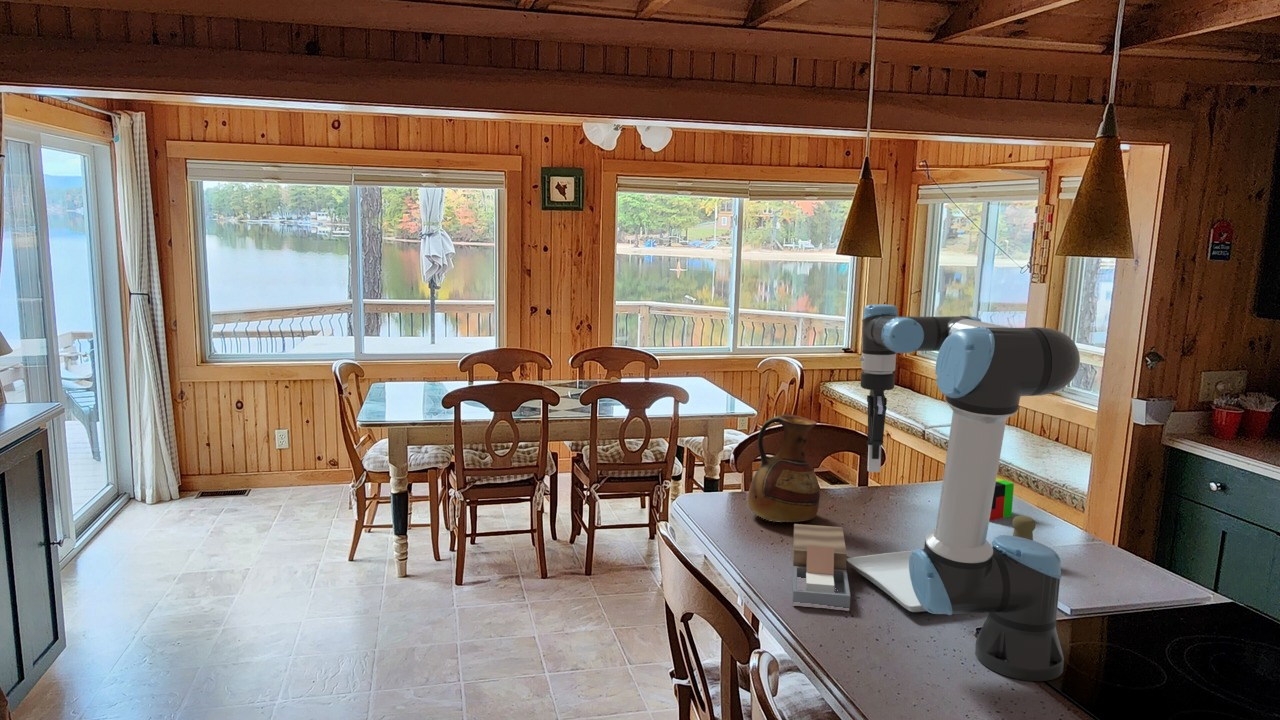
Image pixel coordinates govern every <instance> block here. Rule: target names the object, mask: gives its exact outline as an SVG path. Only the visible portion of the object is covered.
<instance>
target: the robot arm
mask: <svg viewBox="0 0 1280 720" xmlns="http://www.w3.org/2000/svg"><path fill="white" fill-rule="evenodd" d="M861 322H862V331H861V332H862V335H861V355H862V356H859V357H858V361H859V362H861V371H862V372H861V373H860V387H861V388H862V389H863V390H868V391H869V395H867V396H866V403H867V435H866V437H867V438H868V440H867V441H866V445H867V446H868V450H867V451H868V452H867V472H868V473H881V462H882V461H881V459H882V445H884V435H885V424H886V423H885V422H886V414H887V409H888V407H887V403H888V398H887V397H886V396H885V391H891V390H893V389H895V383H896V382H895V379H896V375H895V373H894V372H895V371H896V366H897V365H896V362H897V361H896V359H897V354H911V353H913V352H934V351H935V352H937V351H938V354H937V357H936V362H935V370H934V371H935V374H936V377H935V379H936V380H935V381H936V384H937V387H938V389H939V391H940V393H941V394H942V395H943V396H945V403H946V404H947V406H948V407H949V408H950V409H951V410H952V415H951V422H950V428H949V429H950V430H949V436H948V443H947V451H946V457H945V463H944V470H943V477H942V484H941V491H940V498H939V505H938V512H937V517H936V518H937V519H936V526H935V529H933V530H931V531H929V532H928V533H927V534H926V535H925V539H924V540H925V541H924V547H923V549H922V548H917V549H915V550H914V549H913V550H912V551H913V552H912V553H911V555H910V558H909V573H910V579H911V583H912V586H913V590H914V592H915V595H916V597H917V599H918V601H919V603H920V604H921V606H922V607H923V608H924V609H925V610H926V611H925V612H928V613H930V614H933V615H948V616H952V615H958V614H960V615H961V614H984V613H985V614H986V613H987V616H986V619H985V620H984V622H983V624H982V627H981V629H980V631H979V633H978V635H977V637H976V639H975V646H974V647H975V649H974V653H975V656H976V659H978V661H979V662H980V663H981V664H983V666H984V667H987V668H988V669H989V670H991V671H993V672H995V673H998V674H999V675H1002V676H1005V677H1008V678H1013V679H1016V680H1021V681H1028V682H1029V681H1030V682H1045V681H1052V680H1055V679H1058V678H1059V677H1060V676H1062V675H1063V672H1064V664H1065V657H1064V653H1063V650H1062V647H1061V642H1060V638H1059V635H1058V631H1057V618H1058V609H1059V608H1058V606H1059V598H1060V597H1059V594H1060V584H1061V578H1062V572H1061V571H1062V567H1061V564H1062V563H1061V558H1060V555H1059V554H1058V553H1057V551H1055V550H1054V549H1053V548H1051V547H1050V546H1048V545H1045V544H1043V543H1042V542H1039V541H1036V540H1034V539H1033V540H1029V539H1026V538H1022V537H1016V536H1013V535H1005V534H1003V535H997V536H995V537H994V538H993V539H992V541H991V543H990V542H989V541H988V540H987V535H988V530H989V525H990V521H989V519H990V513H991V507H992V502H993V496H994V490H995V484H996V478H998V472H999V471H998V470H999V465H1000V460H1001V459H1000V458H1001V453H1002V447H1003V440H1004V435H1005V429H1006V423H1007V419H1008V418H1010V417H1012V416H1015V415H1016V414H1017V413H1018V410H1019V407H1020V406H1019V404H1020V401H1021V397H1034V396H1037V397H1038V396H1047V395H1049V394H1050V395H1051V394H1054V393H1055V392H1057V391H1060V390H1062V389H1064V388H1066V387H1067V386H1068V385H1069V384H1070V383H1071V381H1073V380H1074V378H1075V377H1076V375H1077V373H1078V371H1079V368H1080V361H1081V359H1080V351H1079V348H1078V346H1077V345H1076V343H1075V342H1074V340H1073V339H1072V338H1071V337H1070V336H1068V335H1067V334H1065V333H1064V332H1062V331H1060V330H1057V329H1053V328H1047V327H1035V326H1034V327H1008V326H1004V325H1000V324H995V323H989V322H983V321H982V320H981V318H979V317H977V316H970V315H960V316H957V315H956V316H955V315H954V316H900V315H899V314H898V308H897V306H896V305H894V304H885V303H883V304H882V303H881V304H880V303H879V304H873V303H872V304H867V305H865V306H864V308H863V316H862V321H861Z"/></svg>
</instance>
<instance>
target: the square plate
mask: <svg viewBox="0 0 1280 720" xmlns="http://www.w3.org/2000/svg"><path fill="white" fill-rule="evenodd" d="M913 551H914V550H906V551H904V550H903V551H896V552H894V551H893V552H885V553H878V554H870V555H861V556H853V557H847V560H846V563H848V564H849V566H851V568H852V569H853V570H855V571H856V572H857V573H858V574H860V575H861V576H862V577H864V578H865V579H866V580H868V581H870V583H873V585H875V586H876V587H878V588H879V589H880V590H882V591H883V592H884V593H886V594H887V595H888V596H890V597H891V598H892V599H893V600H894V601H896V603H898V604H899V605H900V606H901V607H902V608H904V609H905V610H907V611H908V612H911V613H920V612H927V611H926V610H925V609H924V608H923V607H922V606H921V604H920V603H919V601H918V599H917V597H916V595H915V592H914V590H913V586H912V583H911V579H910V573H909V558H910V555H911V553H912V552H913Z"/></svg>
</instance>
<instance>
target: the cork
mask: <svg viewBox="0 0 1280 720" xmlns="http://www.w3.org/2000/svg"><path fill="white" fill-rule="evenodd" d="M1012 527H1013V534H1012V536H1016V537H1022V538H1026V539H1029V540H1033V541H1034V536H1033V533H1034V530H1035V529H1036V521H1035V520H1034V518H1032V517H1029V516H1027V515H1017V516H1015V517H1013V519H1012Z"/></svg>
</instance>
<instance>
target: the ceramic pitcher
mask: <svg viewBox="0 0 1280 720" xmlns="http://www.w3.org/2000/svg"><path fill="white" fill-rule="evenodd" d="M773 423H779V424H781V426H782V428H783V433H784V434H783V441H782V445H781V448H780V449H779V451H778V453H776V454H775V455H773V456H767V455H766V452H765V448H764V444H763V443H764V435H765V433H766V430H767V429H768V427H769V426H770V425H771V424H773ZM817 424H818V422H817V421H815V420H811V419H809V418H807V417H803V416H799V415H795V414H788V413H787V414H786V413H785V414H779V415H776V416H773V417H772V418H769V419H767V420H766V421H765V422H764V423H763V424H762V426H761V428H760V431H759V432H758V436H757V437H758V438H757V441H758V442H757V447H758V451H759V454H760V455H759V456H760V461H761V465H760V467H759V468H758V469H757V471H756V472H755V474H754V476H753V477H752V480H751V482H750V484H749V485H750V486H749V489H748V494H747V505H748V507H749V509H750V511H751V512H752V513H753V514H755V516H757V517H758V516H759V518H760V517H761V518H760V519H762V518H763V519H762V520H764V519H766V520H765V521H767V520H772V521H780V523H782V522H787V523H788V522H790V523H799V522H806V521H810V520H813V519H814V518H815V517H816V516H817V514H818V511H819V506H820V499H821V498H820V497H821V494H820V493H821V492H820V485H819V480H818V478H817V475H816V473H815V472H814V471H815V470H814V469H813V467H812V465H811V464H810V463H809V462H808V461H807V460H806V454H805V447H806V445H807V441H808V439H807V438H808V434H809V432H810V431H811V429H812V428H814V427H815V426H816V425H817Z"/></svg>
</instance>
